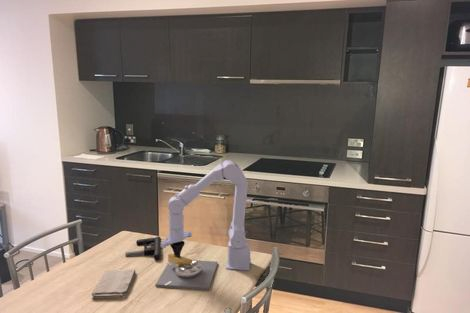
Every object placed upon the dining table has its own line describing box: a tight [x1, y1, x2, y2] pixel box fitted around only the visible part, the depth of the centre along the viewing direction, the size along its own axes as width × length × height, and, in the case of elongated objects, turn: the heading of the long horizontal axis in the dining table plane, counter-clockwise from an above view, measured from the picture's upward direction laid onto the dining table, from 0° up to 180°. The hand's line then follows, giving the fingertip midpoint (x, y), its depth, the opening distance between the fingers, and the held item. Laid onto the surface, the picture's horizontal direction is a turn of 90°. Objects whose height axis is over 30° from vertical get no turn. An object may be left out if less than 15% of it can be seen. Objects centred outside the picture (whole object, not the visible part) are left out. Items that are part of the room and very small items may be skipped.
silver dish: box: [167, 252, 201, 278], centre depth 139 cm, size 14×10×5 cm
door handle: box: [125, 235, 163, 261], centre depth 158 cm, size 3×20×16 cm
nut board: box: [155, 259, 218, 291], centre depth 139 cm, size 20×20×1 cm
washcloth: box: [91, 268, 136, 300], centre depth 131 cm, size 12×18×3 cm, turn 4°
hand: (177, 258), depth 143 cm, fingers closed, pressing on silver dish
